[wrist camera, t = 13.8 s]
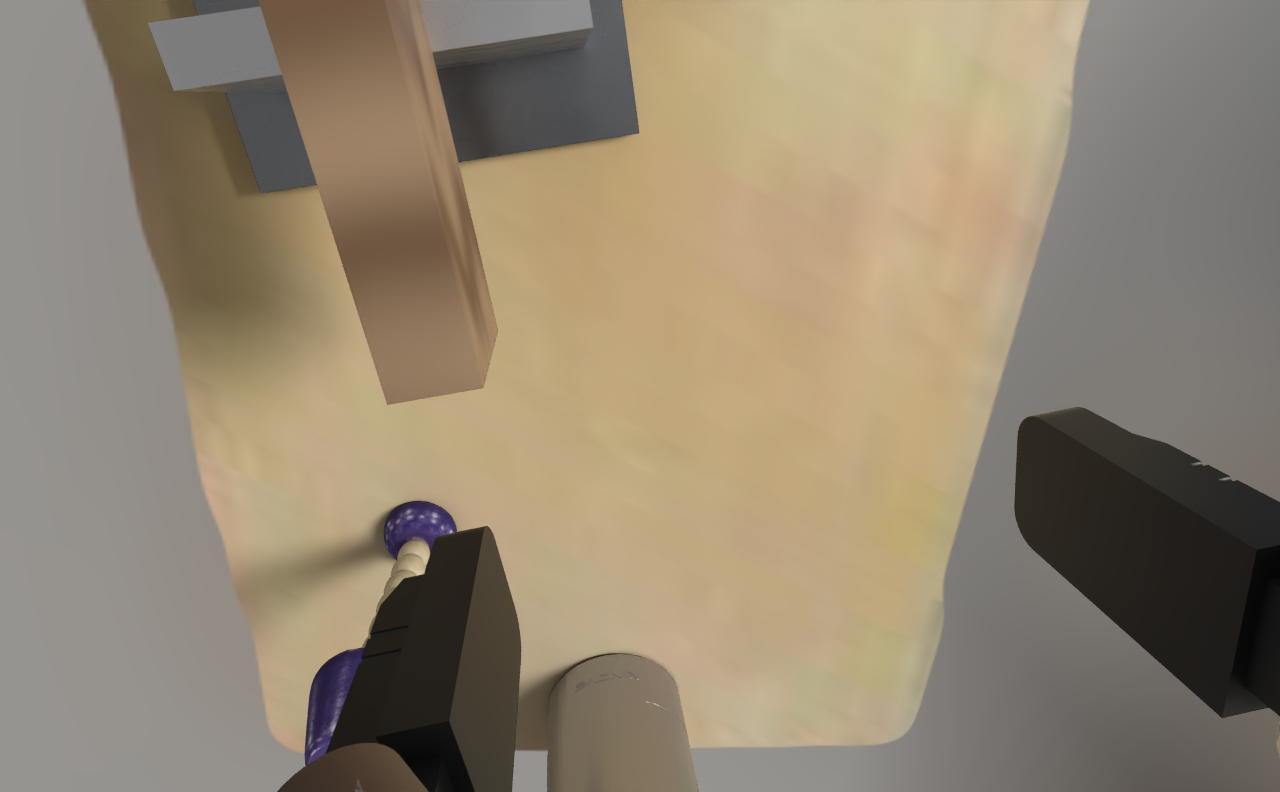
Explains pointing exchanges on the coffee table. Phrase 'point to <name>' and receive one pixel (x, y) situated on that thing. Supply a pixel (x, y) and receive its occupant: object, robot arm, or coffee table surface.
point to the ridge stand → (466, 66)
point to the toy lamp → (411, 547)
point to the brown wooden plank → (389, 187)
